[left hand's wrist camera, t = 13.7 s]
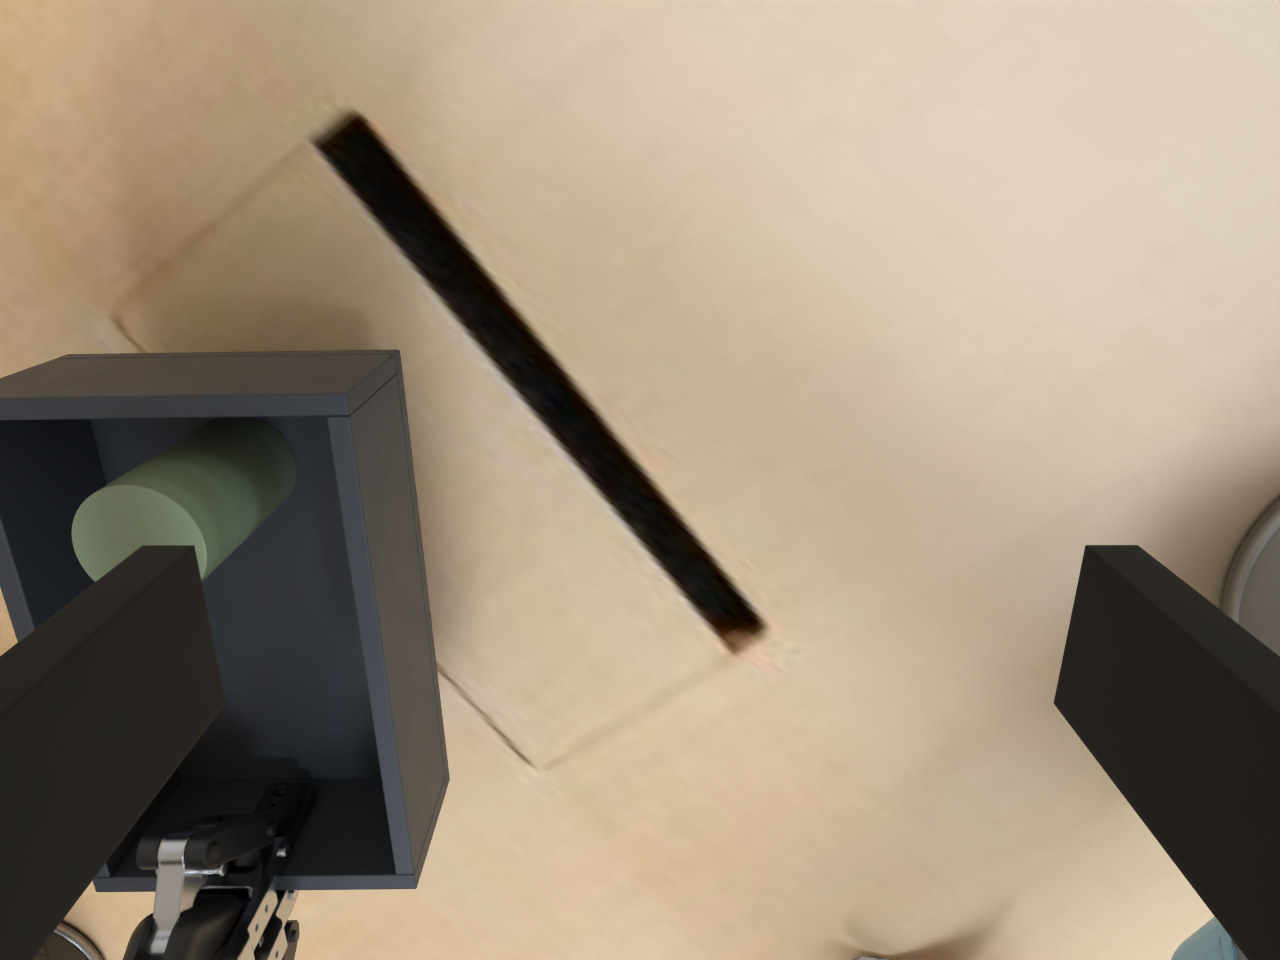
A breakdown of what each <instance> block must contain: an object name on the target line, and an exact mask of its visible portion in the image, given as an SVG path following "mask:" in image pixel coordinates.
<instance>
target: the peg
mask: <svg viewBox="0 0 1280 960" xmlns="http://www.w3.org/2000/svg"><path fill="white" fill-rule="evenodd" d="M296 478H297V467H296V461H295V457H294V455H293V452H292V450H291V448H290V446H289V445H288V443H287V442H286V440H285V439H284V438H283V437H282V436H281V434H280V433H279V432H277V431H276V430H275V429H274V428H273V427H271V426H270V425H268V424H267V423H265V422H263V421H261V420H258V419H256V418H253V417H218V418H215V419H213V420H211V421H209V422H207V423H206V424H204V425H203V426H201V427H199V428H198V429H196V430H195V431H193V432H191V433H190V434H188V435H186V436H185V437H183V438H182V439H180V440H178V441H177V442H175V443H174V444H172V445H170V446H169V447H167V448H166V449H164V450H162V451H161V452H159V453H157V454H156V455H154V456H153V457H151V458H149V459H148V460H146V461H145V462H143V463H141V464H140V465H138V466H137V467H135V468H133V469H132V470H130V471H128V472H127V473H125V474H124V475H122V476H120V477H119V478H117V479H116V480H114V481H112V482H111V483H109V484H108V485H106V486H104V487H103V488H101V489H99V490H98V491H96V492H95V493H93V494H92V495H90V496H89V497H88V498H86V500H85V501H84V502H83V503H82V504H81V505H80V507H79V508H78V510H77V512H76V514H75V517H74V520H73V524H72V542H73V547H74V550H75V553H76V556H77V558H78V560H79V562H80V564H81V565H82V567H83V568H84V570H85V571H86V572H87V574H88V575H89V576H90V577H91V578H92V579H93V580H94V581H95V582H96V581H97V580H99V579H100V578H101V577H103V576H104V575H105V574H106V573H108V572H109V571H110V570H111V569H113V568H114V567H115V566H117V565H118V564H119V563H120V562H122V561H123V560H124V559H126V558H127V557H128V556H129V555H131V554H132V553H133V552H134V551H136V550H137V549H138V548H140V547H141V546H142V545H194V546H195V551H196V556H197V561H198V566H199V571H200V576H201V581H202V582H203V581H204V580H205V579H206V578H207V577H208V576H209V575H210V574H211V573H212V572H213V571H214V570H215V569H216V568H217V567H218V566H219V565H220V564H221V563H222V562H223V561H224V560H225V559H226V558H227V557H228V556H229V555H230V554H231V553H232V552H233V551H234V550H235V549H236V548H238V547H239V546H240V545H241V544H242V543H243V542H244V541H245V540H246V539H247V538H248V537H249V536H250V535H251V534H252V533H253V532H254V531H255V530H256V529H257V528H258V527H259V526H260V525H261V524H262V523H263V522H264V521H265V520H266V519H267V518H268V517H269V516H270V515H271V514H272V513H273V512H274V511H275V510H276V509H278V508H279V507H280V506H281V505H282V504H283V503H284V502H285V501H286V500H287V499H288V497H289V496H290V495H291V493H292V491H293V489H294V486H295V483H296Z"/></svg>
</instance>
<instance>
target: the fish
mask: <svg viewBox="0 0 1280 960" xmlns="http://www.w3.org/2000/svg"><path fill="white" fill-rule="evenodd" d="M853 960H890V959H885V958H880V957H874V956H861V957H858V958H855V959H853Z"/></svg>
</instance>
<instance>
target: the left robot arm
mask: <svg viewBox="0 0 1280 960" xmlns="http://www.w3.org/2000/svg"><path fill="white" fill-rule="evenodd" d="M225 704H226V700H225V695H224V690H223V685H222V680H221V675H220V670H219V665H218V660H217V655H216V650H215V645H214V640H213V635H212V630H211V625H210V620H209V615H208V610H207V606H206V601H205V596H204V591H203V586H202V581H201V576H200V571H199V566H198V561H197V556H196V551H195V546H194V545H142V546H141V547H140V548H138V549H137V550H136V551H134V552H133V553H132V554H131V555H129V556H128V557H127V558H126V559H124V560H123V561H122V562H120V563H119V564H118V565H117V566H115V567H114V568H113V569H111V570H110V571H109V572H108V573H106V574H105V575H104V576H103V577H101V578H100V579H99V580H97V581H96V582H95V583H94V584H92V585H91V586H90V587H88V588H87V589H86V590H85V591H83V592H82V593H81V594H79V595H78V596H77V597H76V598H74V599H73V600H72V601H71V602H69V603H68V604H67V605H65V606H64V607H63V608H62V609H60V610H59V611H58V612H56V613H55V614H54V615H53V616H51V617H50V618H49V619H48V620H46V621H45V622H44V623H42V624H41V625H40V626H39V627H37V628H36V629H35V630H33V631H32V632H31V633H30V634H28V635H27V636H26V637H24V638H23V639H22V640H21V641H19V642H18V643H17V644H16V645H14V646H13V647H12V648H10V649H9V650H8V651H7V652H5V653H4V654H3V655H1V656H0V960H32V959H33V958H34V957H35V956H36V954H37V953H38V952H39V950H40V949H41V948H42V946H43V945H44V944H45V942H46V941H47V940H48V938H49V937H50V936H51V934H52V933H53V932H54V930H55V929H56V928H57V926H58V925H59V924H60V922H61V921H62V920H63V919H64V917H65V916H66V915H67V913H68V912H69V911H70V909H71V908H72V907H73V905H74V904H75V903H76V901H77V900H78V899H79V897H80V896H81V895H82V893H83V892H84V891H85V889H86V888H87V887H88V885H89V884H90V883H91V881H92V880H93V879H94V878H95V876H96V875H97V874H98V872H99V871H100V870H101V868H102V867H103V866H104V864H105V863H106V862H107V860H108V859H109V858H110V856H111V855H112V854H113V852H114V851H115V850H116V848H117V847H118V846H119V844H120V843H121V842H122V840H123V839H124V838H125V837H126V835H127V834H128V833H129V831H130V830H131V829H132V827H133V826H134V825H135V823H136V822H137V821H138V819H139V818H140V817H141V815H142V814H143V813H144V811H145V810H146V809H147V807H148V806H149V805H150V803H151V802H152V801H153V799H154V798H155V797H156V796H157V794H158V793H159V792H160V790H161V789H162V788H163V786H164V785H165V784H166V782H167V781H168V780H169V778H170V777H171V776H172V774H173V773H174V772H175V770H176V769H177V768H178V766H179V765H180V764H181V762H182V761H183V760H184V759H185V757H186V756H187V755H188V753H189V752H190V751H191V749H192V748H193V747H194V745H195V744H196V743H197V741H198V740H199V739H200V737H201V736H202V735H203V733H204V732H205V731H206V729H207V728H208V727H209V725H210V724H211V723H212V721H213V720H214V719H215V718H216V716H217V715H218V714H219V712H220V711H221V710H222V708H223V707H224V706H225ZM1054 704H1055V706H1056V707H1057V708H1058V710H1059V711H1060V712H1061V714H1062V715H1063V716H1064V718H1065V719H1066V720H1067V721H1068V723H1069V724H1070V725H1071V727H1072V728H1073V729H1074V731H1075V732H1076V733H1077V735H1078V736H1079V737H1080V739H1081V740H1082V741H1083V743H1084V744H1085V745H1086V747H1087V748H1088V749H1089V751H1090V752H1091V753H1092V755H1093V756H1094V757H1095V759H1096V760H1097V761H1098V762H1099V764H1100V765H1101V766H1102V768H1103V769H1104V770H1105V772H1106V773H1107V774H1108V776H1109V777H1110V778H1111V780H1112V781H1113V782H1114V784H1115V785H1116V786H1117V788H1118V789H1119V790H1120V792H1121V793H1122V794H1123V796H1124V797H1125V798H1126V799H1127V801H1128V802H1129V803H1130V805H1131V806H1132V807H1133V809H1134V810H1135V811H1136V813H1137V814H1138V815H1139V817H1140V818H1141V819H1142V821H1143V822H1144V823H1145V825H1146V826H1147V827H1148V829H1149V830H1150V831H1151V833H1152V834H1153V835H1154V837H1155V838H1156V839H1157V840H1158V842H1159V843H1160V844H1161V846H1162V847H1163V848H1164V850H1165V851H1166V852H1167V854H1168V855H1169V856H1170V858H1171V859H1172V860H1173V862H1174V863H1175V864H1176V866H1177V867H1178V868H1179V870H1180V871H1181V872H1182V874H1183V875H1184V876H1185V878H1186V879H1187V880H1188V881H1189V883H1190V884H1191V885H1192V887H1193V888H1194V889H1195V891H1196V892H1197V893H1198V895H1199V896H1200V897H1201V899H1202V900H1203V901H1204V903H1205V904H1206V905H1207V907H1208V908H1209V909H1210V911H1211V912H1212V913H1213V915H1214V916H1215V917H1213V918H1212V919H1211V920H1210V921H1209V922H1207V923H1206V924H1205V925H1204V926H1202V927H1201V928H1200V929H1199V930H1197V931H1196V932H1195V933H1194V934H1192V935H1191V936H1190V937H1189V938H1187V939H1186V940H1185V941H1184V942H1183V943H1182V944H1181V945H1180V946H1179V947H1178V948H1177V950H1176V951H1175V953H1174V954H1173V956H1172V959H1171V960H1280V499H1278V500H1277V501H1276V502H1275V503H1274V504H1273V505H1272V506H1271V507H1270V508H1269V509H1268V510H1267V511H1266V512H1265V514H1264V515H1263V516H1262V517H1261V518H1260V519H1259V520H1258V522H1257V523H1256V524H1255V526H1254V527H1253V528H1252V529H1251V531H1250V532H1249V534H1248V535H1247V537H1246V538H1245V540H1244V541H1243V543H1242V545H1241V547H1240V548H1239V550H1238V552H1237V554H1236V556H1235V558H1234V560H1233V563H1232V565H1231V567H1230V570H1229V573H1228V576H1227V579H1226V583H1225V588H1224V593H1223V601H1222V611H1221V610H1220V609H1218V608H1217V607H1216V606H1215V605H1213V604H1212V603H1211V602H1209V601H1208V600H1207V599H1206V598H1204V597H1203V596H1202V595H1201V594H1199V593H1198V592H1197V591H1195V590H1194V589H1193V588H1192V587H1190V586H1189V585H1188V584H1186V583H1185V582H1184V581H1183V580H1181V579H1180V578H1179V577H1177V576H1176V575H1175V574H1174V573H1172V572H1171V571H1170V570H1169V569H1167V568H1166V567H1165V566H1163V565H1162V564H1161V563H1160V562H1158V561H1157V560H1156V559H1154V558H1153V557H1152V556H1151V555H1149V554H1148V553H1147V552H1146V551H1144V550H1143V549H1142V548H1140V547H1139V546H1138V545H1086V546H1085V551H1084V556H1083V561H1082V566H1081V571H1080V576H1079V581H1078V586H1077V591H1076V596H1075V601H1074V605H1073V610H1072V615H1071V620H1070V625H1069V630H1068V635H1067V640H1066V645H1065V650H1064V655H1063V660H1062V665H1061V670H1060V675H1059V680H1058V685H1057V690H1056V695H1055V700H1054Z"/></svg>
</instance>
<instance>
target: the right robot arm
mask: <svg viewBox="0 0 1280 960" xmlns="http://www.w3.org/2000/svg"><path fill="white" fill-rule="evenodd" d="M263 795H264V796H262V798H261V799H260V802H259V803H258V805H257V806H256V808H255V810H254V811H253V813H252V814H213V815H210V816H206V817H202V818H199V819H195V820H192V821H188V822H185V823H181V824H178V825H174V826H171V827H167V828H164V829H160V830H157V831H153V832H150V833H147V834H145V835H144V836H143V838H142V839H141V841H140V843H139V845H138V848H137V853H136V863H137V866H138V868H139V869H142V870H144V869H156V875H157V885H156V894H155V902H154V911H153V913H152V914H150V915H148V916H147V917H146V918H144V919H143V920H142V921H141V922H140V923H139V925H138V926H137V927H136V929H135V930H134V932H133V934H132V936H131V938H130V940H129V943H128V946H127V949H126V952H125V955H124V958H123V960H294V957H295V952H296V947H297V941H298V938H299V923H298V921H297V920H288V917H289V915H290V913H291V911H292V909H293V906H294V904H295V902H296V899H297V896H298V890H276V889H275V883H276V881H277V879H278V877H279V875H280V873H281V871H282V869H283V867H284V865H285V863H286V861H287V859H288V855H289V852H291V850H292V848H293V846H294V844H295V842H296V840H297V838H298V836H299V834H300V832H301V830H302V828H303V826H304V824H305V822H306V820H307V818H308V816H309V814H310V812H311V810H312V808H313V806H314V804H315V802H316V800H317V794H316V789H315V785H314V783H312V782H273V783H272V784H271V785H269V786H268V787H267V789H266V791H265V793H264V794H263ZM238 867H256V868H255V869H254V870H253V871H251V872H249V873H235V871H236V869H237V868H238ZM32 960H102V958H101V956H100V954H99V953H98V952H97V950H96V949H95V948H94V946H93V945H92V944H91V943H90V942H89V941H88V940H87V939H86V938H84V937H83V936H82V935H81V934H79V933H78V932H77V931H75V930H74V929H72V928H70V927H69V926H67V925H65V924H63V923H61V922H60V924H59V925H58V926H57V928H56V929H55V930H54V932H53V933H52V934H51V936H50V937H49V938H48V940H47V941H46V942H45V944H44V945H43V946H42V948H41V949H40V950H39V952H38V953H37V954H36V956H35V957H34V958H33V959H32Z"/></svg>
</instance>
